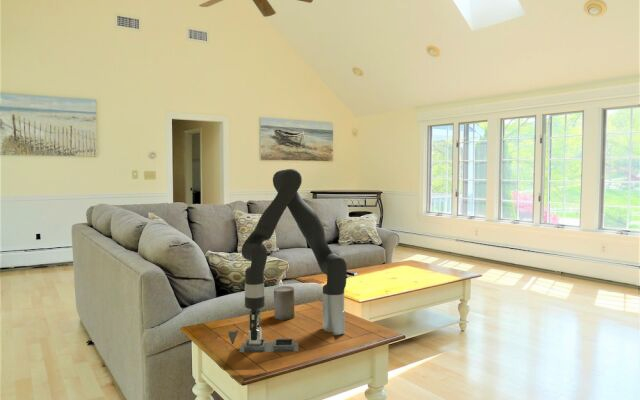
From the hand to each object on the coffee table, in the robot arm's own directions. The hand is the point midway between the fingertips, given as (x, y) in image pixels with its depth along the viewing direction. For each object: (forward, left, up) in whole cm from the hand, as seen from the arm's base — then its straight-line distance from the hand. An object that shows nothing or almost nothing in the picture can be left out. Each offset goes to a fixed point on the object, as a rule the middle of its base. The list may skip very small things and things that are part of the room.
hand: (255, 336), depth 179 cm
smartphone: (+8, -16, -6) cm, 19 cm away
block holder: (-5, 0, -6) cm, 8 cm away
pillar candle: (-9, -42, -6) cm, 43 cm away
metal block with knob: (0, 0, -4) cm, 4 cm away
